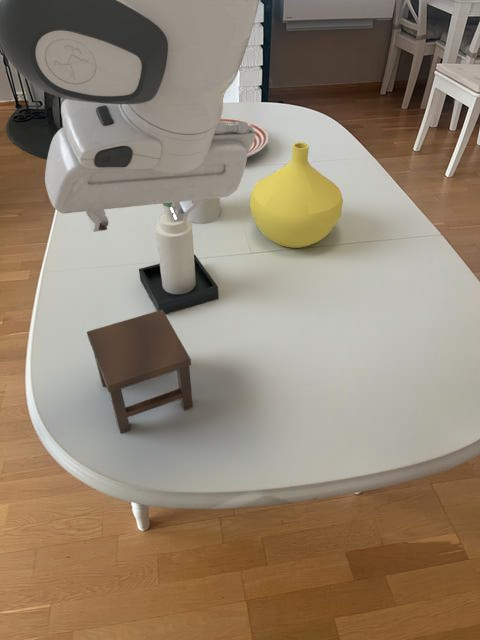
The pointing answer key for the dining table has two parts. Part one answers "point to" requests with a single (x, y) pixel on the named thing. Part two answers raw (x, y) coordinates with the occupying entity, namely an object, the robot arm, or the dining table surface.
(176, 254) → the bottle
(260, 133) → the dinner plate
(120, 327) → the brown wooden stool
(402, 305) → the dining table surface
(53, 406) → the dining table surface
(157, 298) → the black square tray
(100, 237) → the dining table surface
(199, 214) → the white cylinder
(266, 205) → the vase
